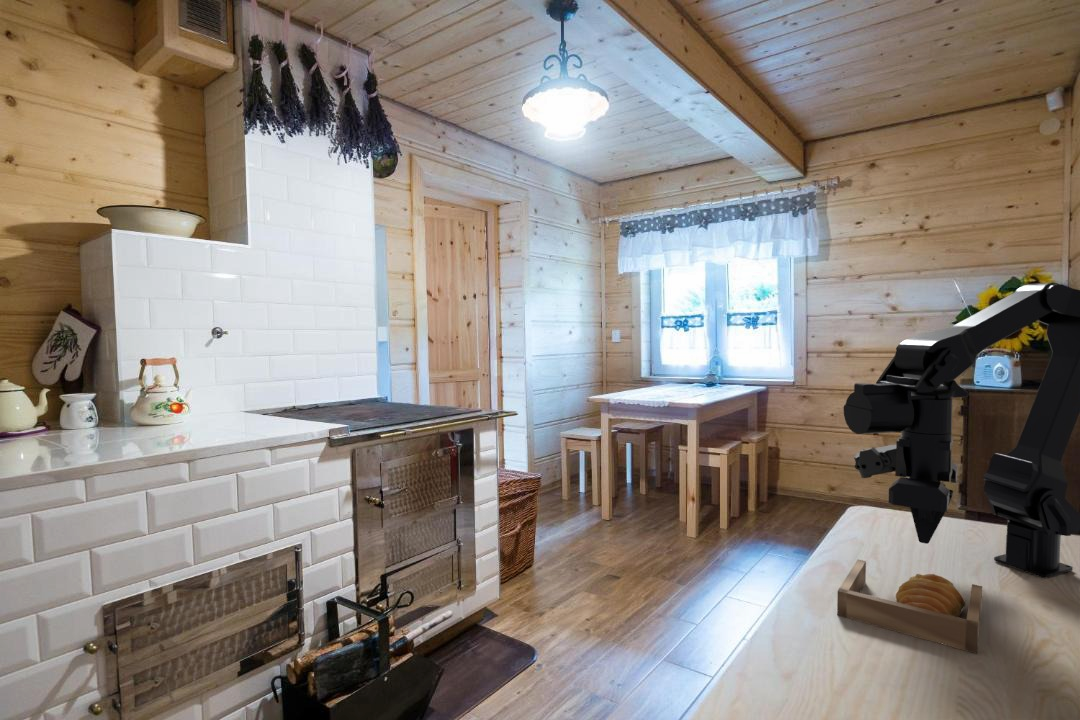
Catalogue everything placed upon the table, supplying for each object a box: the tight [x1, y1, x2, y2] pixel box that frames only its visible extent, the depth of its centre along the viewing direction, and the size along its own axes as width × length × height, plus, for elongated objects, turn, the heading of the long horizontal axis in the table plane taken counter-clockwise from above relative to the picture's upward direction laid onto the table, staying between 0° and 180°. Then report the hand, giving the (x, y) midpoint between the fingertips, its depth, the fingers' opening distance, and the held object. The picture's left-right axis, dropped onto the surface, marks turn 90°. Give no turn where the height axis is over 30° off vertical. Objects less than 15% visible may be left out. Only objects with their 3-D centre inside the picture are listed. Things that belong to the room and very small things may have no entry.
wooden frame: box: [836, 559, 983, 654], centre depth 70 cm, size 12×14×3 cm
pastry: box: [895, 573, 966, 618], centre depth 70 cm, size 9×7×4 cm
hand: (924, 542), depth 80 cm, fingers closed
